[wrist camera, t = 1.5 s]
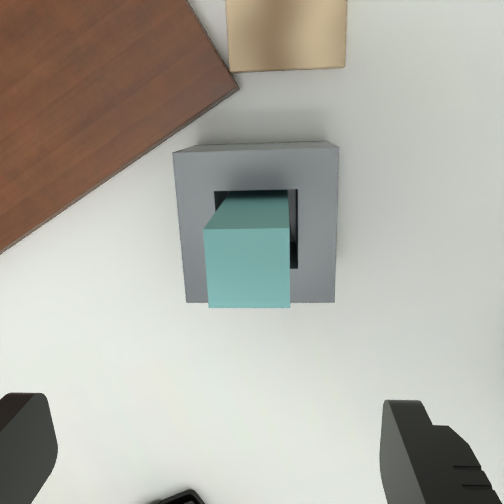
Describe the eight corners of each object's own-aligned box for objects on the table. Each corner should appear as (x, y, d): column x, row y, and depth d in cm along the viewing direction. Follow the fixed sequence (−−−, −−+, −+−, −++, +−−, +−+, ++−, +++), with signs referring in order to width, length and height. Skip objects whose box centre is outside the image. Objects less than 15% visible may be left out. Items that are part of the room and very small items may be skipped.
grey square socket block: (327, 141, 31) (338, 147, 24) (324, 266, 34) (334, 302, 27) (195, 145, 32) (172, 152, 25) (205, 267, 35) (186, 302, 28)
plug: (287, 184, 31) (289, 228, 19) (288, 235, 32) (290, 307, 20) (234, 185, 31) (203, 229, 19) (237, 235, 33) (208, 307, 20)
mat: (347, -67, 27) (349, -74, 26) (342, 67, 29) (344, 66, 28) (224, -58, 27) (222, -64, 26) (231, 73, 30) (229, 71, 29)
